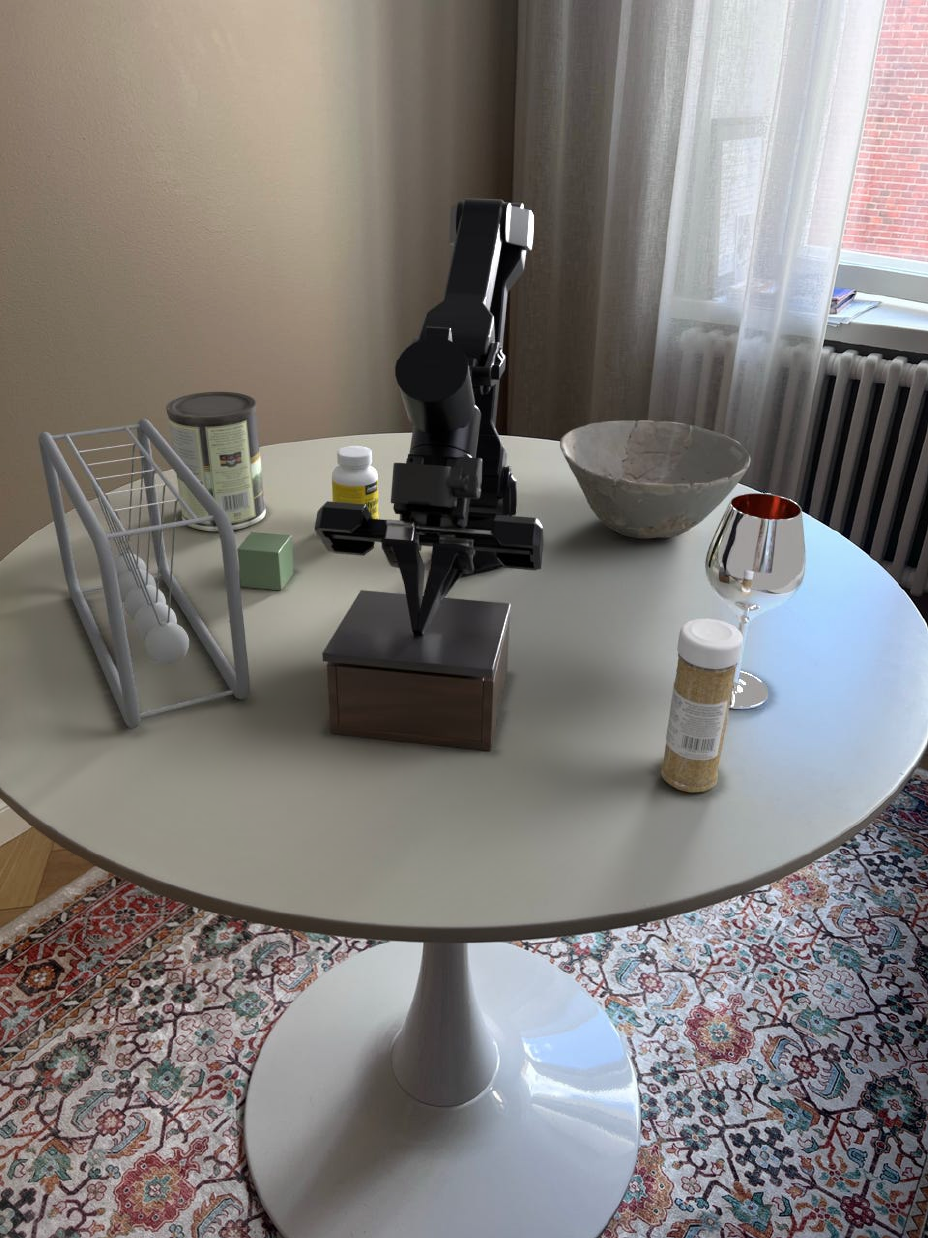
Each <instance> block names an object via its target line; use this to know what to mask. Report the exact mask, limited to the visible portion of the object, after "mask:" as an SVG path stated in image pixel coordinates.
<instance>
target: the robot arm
mask: <svg viewBox="0 0 928 1238" xmlns="http://www.w3.org/2000/svg"><path fill="white" fill-rule="evenodd" d="M448 229H449V230H448V244H449V245H450V246H452V247H453V250H452V255H451V259H450V263H449V264H450V266H449V269H448V274H447V279H446V283H445V287H444V293H443V297H442V299H441V301H440V302H439V303H438V304H436V305H435V306H434V307H432V308H431V309H430V310H428V311H427V312H426V313H425V314H424V317H423V321H422V324H421V327H420V331H419V333H418V336H417V337H416V336H415V337H413V339H412V341H411V343H410V344H409V346H407V347H406V348H404V350H403V352H402V353H401V354H400V355H399V358H397V360H396V361H395V367H394V373H395V374H394V376H395V378H396V382H397V386H398V390H399V392H400V395H401V398H402V402H403V406H404V409H405V412H406V415H407V418H408V421H409V423H410V424H411V425H413V426H412V433H411V440H410V447H409V451H408V452H409V453H408V454H407V458H406V462H393V467H392V480H391V491H390V492H391V493H390V503H391V504H393V507H392V508H393V512H394V514H395V515H399V520H398V519H382V518H381V519H380V518H378V519H373V518H372V516H371V514H370V512H369V510H368V508H367V506H366V504H355V503H342V502H333V501H329V500H328V501H325V502H324V504H323V505H321V507H319V509H318V510H317V513H316V518H315V524H314V532H315V533H316V535H317V536H318V538H319V539H320V541H321V542H322V545H324V547H325V549H326V550H327V551H328V552H331V553H333V554H338V555H347V556H348V555H349V556H360V557H365V556H366V555H367V554H368V553H370V552H371V551H372V550H374V549H375V543H380V544H381V549H382V551H383V553H384V555H385V558H386V560H387V561H388V563H389V565H390V566H391V567H392V568H397V569H399V573H400V575H401V578H402V582H403V586H404V594H406V599H407V604H408V610H409V616H410V621H411V627H412V632H413V634H414V635H424V633H425V631H426V629H427V628H428V626H429V624H430V622H431V621H432V619H433V617H434V615H435V613H436V612H437V610H438V608H439V606H440V604H441V603H442V601H443V599H444V598H446V596H447V595H448V593H449V592H450V591H451V590H452V588H453V587H454V585H455V584H456V583H457V582H458V581H459V579H460V578H461V577H465V576H469V575H473V574H478V573H482V572H487V571H490V570H494V569H495V570H496V569H500V568H504V569H511V570H512V569H513V570H524V571H538V570H539V571H540V570H541V569H542V562H543V554H544V526H543V525H542V523H541V522H540V520H539V519H538V518H537V517H531V516H519V515H518V516H517V510H518V509H517V506H518V489H517V479H516V478H515V477H514V475H513V472H512V466H511V465H507V463H508V453H507V451H506V448H505V446H504V444H503V442H502V440H501V438H500V435H499V433H498V431H497V429H496V426H497V425H496V424H497V414H498V403H499V390H500V379H501V377H502V375H503V373H504V372H505V370H506V364H507V363H506V359H507V358H506V355H505V354H504V353H503V347H504V337H505V335H504V334H505V324H506V312H507V303H508V293H509V292H510V291H511V289H512V288H513V287H514V285H515V283H516V282H517V281H518V280H519V278H520V277H521V276H522V274H523V273H524V271H525V265H526V255H527V251H532V250H533V243H534V230H535V215H534V213H533V212H532V210H531V209H528V208H524V203H523V202H506V201H505V202H504V200H503V199H496V198H476V197H475V198H470V197H466V198H465V199H463V200H458V201H457V204H455V205H451V206H450V209H449V228H448ZM423 547H432V549H431V558H430V565H429V566H430V567H429V571H428V574H427V580H426V584H425V587H424V582H425V566H426V565H425V562H424V560H423V558H422V554H421V553H420V552H421V551H422V548H423Z"/></svg>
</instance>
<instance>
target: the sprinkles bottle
mask: <svg viewBox="0 0 928 1238" xmlns="http://www.w3.org/2000/svg"><path fill="white" fill-rule="evenodd" d="M742 644H743V637H742V634H741V632H740V631H739V630H738V628H737V626H734V625H732V624H731V623H729V622H726V621H723V620H719V619H714V618H696V619H695V618H694V619H691V620H688V621H687V622H685V623H684V624H683V625H682V626H681V627H680V630H679V634H678V641H677V647H676V648H677V649H676V650H677V657H678V658H677V665H676V671H675V672H676V674H675V680H674V682H673V687H672V694H671V701H670V709H669V715H668V722H667V728H666V735H665V747H664V754H663V755H664V756H663V760H662V761H663V762H662V764H661V766H660V774H661V778H662V779H663V780H664V781H665V782H666V783H667V784H668V785H669V786H671V787H673V788H675V789H676V790H678V791H681V792H687V793H704V792H708V791H709V790H711V789H712V788H714V787H715V786H716V785H717V784H718V780H719V772H718V771H719V766H720V761H721V757H722V751H723V748H724V743H725V739H726V734H727V728H728V721H729V711H730V708H729V706H730V700H731V694H732V688H733V682H734V674H735V668H736V666H737V665H738V661H739V660H740V657H741V651H742Z"/></svg>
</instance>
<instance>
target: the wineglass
mask: <svg viewBox="0 0 928 1238" xmlns="http://www.w3.org/2000/svg"><path fill="white" fill-rule="evenodd" d="M803 519H804V518H803V510H802V508H801V506H800V505H799V504H798V503H797V502H795V501H793V500H791V499H789V498H786V497H783V496H780V495H775V494H771V493H763V492H762V493H761V492H748V493H743V494H738V495H736V496H734V497H731V499H730V501H729V503H728V504H727V507H726V509H725V511H724V513H723V515H722V518H721V520H720V522H719V524H718V526H717V528H716V530H715V533H714V535H713V537H712V540H711V541H710V544H709V547H708V550H707V553H706V556H705V561H704V569H705V575H706V578H707V579H706V580H707V581H708V583H709V585H710V587H711V588H712V590H713V592H714V593H715V594H716V595H717V597H718V598H719V599H720V600H721V601H722V602H723V603H724V604H725V605H727V606H728V607H729V608H730V609H731V610H732V611H733V612H734V613H735V615H736V617H737V619H738V628H737V629H738V630H739V631H740V632H741V634H742V637H743V644H742V651H741V657H740V660H739V661H738V665H737V666H736V668H735V674H734V682H733V688H732V694H731V700H730V706H729V709H733V710H749V709H754V708H758V707H760V706H762V705H763V704H764V703H766V701H767V699H768V696H769V691H768V688H767V686H766V685H765V683H764V682H763V681H761V680H760V679H759V678H758V677H756V676H754V675H752V674H750V673H747V672H745V671H742V670H741V668H742V661H743V656H744V651H745V646H746V641H747V634H748V631H749V625H750V623H751V622H752V621H753V620H754V619H755V618H756V617H758V616H760V615H762V614H765V613H767V612H769V611H771V610H774V609H776V608H778V607H780V606H782V605H783V604H784V603H787V602H788V601H790V599H791V598H792V597H794V595H796V593H797V592H798V591H799V590H800V587H801V586H802V585H803V582H804V579H805V574H806V542H805V530H804V520H803Z"/></svg>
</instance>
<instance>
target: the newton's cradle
mask: <svg viewBox="0 0 928 1238" xmlns="http://www.w3.org/2000/svg"><path fill="white" fill-rule="evenodd" d="M131 430H136V435H137V437H136V435H134V433H133V432H132V431H131ZM121 431H125V433H127V435H128V436H129V438H130V439H131V440H132V441H133V443H129V444H121V445H114V446H107V447H100V448H99V447H98V448H94V449H86V450H79V451H78V449H77V447H76V446H75V444H74V443H73V440H72V438H75V437H83V436H90V435H98V434H106V433H115V432H121ZM60 439H61V440H62V439H65V441H66V442H67V444H68V446H69V448H70V449H71V451H72V453H73V454H74V456H75V458H76V459H77V461H78V463H79V464H80V466H81V468H82V470H83V472H84V473H85V475H86V476H87V478H88V480H89V481H90V483H91V485H92V488H93V490H94V493H95V495H96V498H97V500H98V504H99V505H100V508H101V511H102V514H103V516H104V519H105V521H106V523H107V526H108V528H109V531H110V533H106V532H105V530H104V528H103V526H102V524H101V523H100V521H99V519H98V518H97V516H96V514H95V512H94V510H93V508H92V507H91V504H90V503H89V501H88V499H87V497H86V495H85V493H84V492H83V491H82V488H81V486H80V485H79V483H78V481H77V480H76V478H75V476H74V474H73V471H71V469H70V467H69V466H68V463H67V462H66V460H65V458H64V456H63V454H62V452H61V451H60V449H59V447H58V445H57V444H56V442H55V440H60ZM151 444H152V445H153V446H154V447H155V449H156V450H157V451H158V453H159V454H160V455H161V456H162V458H163V459H164V460H165V461H166V463H168V465H169V466H170V467H171V469H172V470H173V472H174V473H175V474H176V476H177V475H178V476H179V477H180V479H181V480H182V481H183V482H184V484H185V485H186V486H187V487H188V489H189V490H190V491H191V492H192V494H193V495H194V496H195V497H196V499H197V500H198V501H199V502H200V504H201V505H202V506H203V507H204V509H205V510H206V511H207V512H208V514H209V515H210V516H206V517H201V518H197V517H196V515H195V514H194V513H193V512H192V510H191V509H190V508H189V506H188V505H187V504H186V502H185V501H184V500H183V499H182V497H181V496H180V495H179V491H177V489H176V488H175V487H174V485H173V484H172V482H170V480H169V479H168V478H167V476H166V475H165V474H164V472H163V471H162V469H161V468H160V467H159V465H157V463H156V461H154V460H153V454H152V453H153V452H152V448H151V447H152V446H151ZM38 446H39V452H40V457H41V462H42V467H43V472H44V477H45V482H46V488H47V492H48V498H49V503H50V507H51V512H52V517H53V523H54V527H55V533H56V537H57V544H58V549H59V553H60V558H61V563H62V564H61V565H62V569H63V573H64V578H65V582H66V586H67V589H68V592H69V595H70V598H71V599H72V602H73V604H74V607H75V609H76V612H77V614H78V616H79V618H80V621H81V623H82V625H83V628H84V630H85V633H86V635H87V637H88V640H89V642H90V644H91V646H92V649H93V652H94V653H95V656H96V658H97V661H98V663H99V665H100V668H101V670H102V672H103V674H104V677H105V679H106V682H107V685H108V686H109V688H110V691H111V693H112V696H113V698H114V700H115V702H116V706H117V707H118V709H119V712H120V714H121V717H122V720H123V721H124V723H125V725H126V726H127V727H128V728H130V729H135V728H137V727H138V726H139V725H140V723H141V721H142V720H141V719H143V718H146V717H151V716H154V715H159V714H162V713H165V712H169V711H173V710H178V709H181V708H185V707H188V706H192V705H197V704H201V703H204V702H208V701H212V700H216V699H220V698H223V697H227V696H232V695H233V696H234V697H235V698H236V699H239V700H246V699H247V698H248V696H250V693H251V692H250V691H251V680H250V671H249V662H248V661H249V660H248V651H247V650H248V649H247V641H246V630H245V621H244V620H245V619H244V612H243V602H242V600H243V599H242V592H241V581H240V572H239V562H238V552H237V543H236V536H235V532H234V531H235V530H233V528H232V524H231V522H230V519H229V517H228V515H227V514H226V512H225V511H224V510H223V509H222V508H221V506H220V505H219V504H218V503H217V502H216V500H215V499H214V498H213V497H212V496H211V494H210V493H209V492H208V491H207V490H206V488H205V487H204V486H203V485H202V484H201V482H200V481H199V480H198V479H197V478H196V477H195V475H194V474H193V473H192V472H191V471H190V469H189V468H188V467H187V466H186V465H185V463H184V462H183V461H182V460H181V459H180V457H179V456H178V455H177V454H176V453H175V451H174V450H173V447H171V445H169V443H168V442H167V441H166V439H165V438H164V437H163V436H162V434H160V432H159V430H157V429H156V428H155V426H154V425H153V424H152V423H151V422H150V421H149V420H148V419H146V418H141V419H139V421H138V422H137V424H129V425H122V426H115V427H113V426H112V427H107V428H99V429H91V430H84V431H77V432H68V433H61V434H53V435H52V434H51V433H50V432H48V431H42V432H40V433H39V435H38ZM128 446H132V457H129V458H122V459H116V460H115V459H114V460H108V461H101V462H94V463H89V464H86V461H85V458H84V456H83V453H85V452H92V451H97V450H98V451H99V450H106V449H113V448H120V447H128ZM136 447H137V448H138V450H139V456H136V457H135V449H136ZM135 459H140V463H141V471H137V472H134V468H135ZM127 460H131V472H130V473H124V474H116V475H110V476H103V477H96V478H95V476H94V474H93V472H92V469H91V466H94V465H100V464H107V463H113V462H120V461H121V462H123V461H127ZM155 472H156V473H157V475H158V476H159V477H160V479H161V480H162V482H163V483H164V484H163V483H162V484H156V483H157V482H156V476H155ZM134 474H141V476H140V478H141V479H140V487H138V488H133V487H134V485H133V484H134ZM128 475H129V476H130V475H131V477H130V489H126V490H119V491H113V492H106V493H104V492H103V489H102V487H101V484H100V481H99V480H102V479H109V478H116V477H123V476H128ZM59 481H60V482H61V483H62V485H63V487H64V489H65V491H66V493H67V496H68V497H69V499H70V501H71V503H72V505H73V507H74V509H75V511H76V513H77V514H78V517H79V519H80V520H81V522H82V524H83V526H84V529H85V530H86V532H87V534H88V536H89V538H90V540H91V542H92V544H93V548H94V550H95V554H96V558H97V561H98V566H99V572H100V577H101V582H102V583H101V584H102V585H98V586H97V585H96V586H93V587H88V588H83V589H81V587H80V583H79V580H78V575H77V570H76V566H75V561H74V556H73V550H72V545H71V540H70V533H69V529H68V523H67V518H66V514H65V508H64V502H63V499H62V498H63V497H62V493H61V487H60V482H59ZM143 486H144V487H143ZM157 487H162V501H159V497H158V490H157ZM166 487H167V488H168V489H169V491H170V492H171V494H173V496H174V498H175V499H171V500H165V497H166V496H165V495H166ZM138 490H140V497H139V505H136V506H132V505H133V504H132V503H133V491H138ZM143 490H144V491H145V498H146V504H143ZM125 492H130V497H129V506H128V507H123V508H118V509H113V507H112V505H111V502H110V499H109V496H108V495H113V494H118V493H125ZM171 502H174V510H173V522H167V523H164V513H165V511H164V510H165V503H171ZM178 503H179V504H180V506H181V505H182V506H183V508H184V509H185V510H186V512H187V513H188V514H189V516H190V517H191V518H192V519H190V520H184V521H183V520H178V521H177V509H178V508H177V507H178ZM160 504H161V510H160ZM143 507H147V511H148V518H149V521H148V522H149V523H148V525H149V526H144V527H141V523H142V522H141V521H142V508H143ZM135 508H139V513H138V528H133V529H131V527H132V526H131V524H132V523H131V521H132V509H135ZM123 510H129V515H128V516H129V517H128V529H127V530H126V529H125V528H124V526H123V524H122V521H121V519H120V516H119V513H118V511H123ZM160 511H161V512H160ZM212 520H214V521H215V523H216V525H217V528H218V531H219V532H218V535H219V539H220V545H221V552H222V553H221V554H222V562H223V573H224V581H225V590H226V599H227V608H228V609H227V610H228V617H229V626H230V637H231V646H232V654H233V655H232V656H233V664H234V665H233V666H234V669H233V667H232V666H231V663H230V662H229V661H228V659H227V657H226V655H224V653H223V652H222V650H221V648H220V647H219V644H217V642H216V640H215V639H214V637H213V635H212V634H211V632H210V631H209V629H208V628H207V626H206V624H205V623H204V621H203V620H202V619H201V617H200V615H199V614H198V612H197V610H196V608H194V606H193V604H192V602H191V601H190V600H189V598H188V597H187V594H186V593H185V591H184V590H183V589H182V587H181V585H180V584H179V583H178V580H177V579H176V577H175V576H174V575H173V569H174V555H175V554H174V552H175V538H176V528H178V527H185V526H188V525H190V524H196V523H201V522H207V521H212ZM166 529H172V544H171V558H170V566H169V563H168V558H167V554H166V548H165V540H164V533H163V530H166ZM145 533H148V540H147V556H146V557H147V558H146V563H145V561H144V560H143V558H141V557H140V555H139V554H140V542H141V541H140V540H141V539H140V538H141V537H140V536H141V534H145ZM133 535H137V549H136V550H137V552H136V554H135V553H134V552H133V549H132V547H131V546H132V545H131V544H130V541H131V536H133ZM151 537H152V538H151ZM110 539H111V540H112V539H113V541H114V544H115V546H116V548H117V551H118V553H119V554H117V555H115V556H114V553H113V549H112V547H111V543H110ZM151 539H152V545H153V552H154V558H155V564H156V566H157V574H154V575H152V574H151V573H150V572H149V567H150V565H149V564H150V548H151ZM155 579H156V580H155ZM160 579H162V581H163V582H164V584H165V585H166V587H167V589H169V590H168V591H169V592H168V604H167V600H166V597H165V594H164V593H163V592H162V591H161V590H160V589H159V587H160V585H159V584H160ZM101 590H103V595H104V600H105V605H106V612H107V618H108V623H109V628H110V633H111V640H112V645H113V650H114V657H115V662H116V665H115V663H114V660H113V658H112V656H111V654H110V651H109V650H108V647H107V645H106V642H105V640H104V638H103V636H102V634H101V632H100V630H99V627H98V625H97V623H96V621H95V619H94V616H93V614H92V612H91V610H90V607H89V605H88V602H87V600H86V598H85V596H84V594H85V593H92V592H97V591H101ZM172 597H173V598H174V600H175V602H176V603H177V605H178V607H179V608H180V610H181V612H182V613H183V614H184V616H185V619H186V620H187V621H188V623H189V624H190V626H191V627H192V630H193V631H194V633H195V634H196V636H197V637H198V639H199V640H200V643H201V644H202V646H203V647H204V649H205V650H206V652H207V653H208V656H209V657H210V659H211V660H212V662H213V664H214V665H215V667H216V668H217V670H218V672H219V673H220V676H222V678H223V680H224V682H225V683H226V685H227V686H228V688H229V690H226V691H222V692H218V693H214V694H209V695H205V696H202V697H199V698H195V699H191V700H186V701H183V702H179V703H175V704H171V705H167V706H163V707H159V708H155V709H152V710H147V711H144V712H141V710H140V705H139V698H138V692H137V686H136V681H135V675H134V668H133V663H132V656H131V651H130V645H129V640H128V639H129V638H128V633H127V627H126V621H125V615H124V609H125V613H126V614H127V615H128V617H129V618H130V620H132V621H133V626H134V630H135V632H136V633H137V635H138V636H139V637H140V638H141V639H143V640H144V647H145V651H146V654H147V655H148V656H149V658H150V659H151V660H153V661H154V662H156V663H158V664H161V665H173V664H176V663H178V662H180V661H182V659H183V658H184V657H185V656H186V655H187V654H188V651H189V647H190V639H189V635H188V634H187V631H186V630H185V629H184V628H183V627H182V626H180V625H179V624H178V623H177V616H176V613H175V612H174V610H173V609H172V608H171V600H172V599H171V598H172ZM123 603H124V608H123Z"/></svg>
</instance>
